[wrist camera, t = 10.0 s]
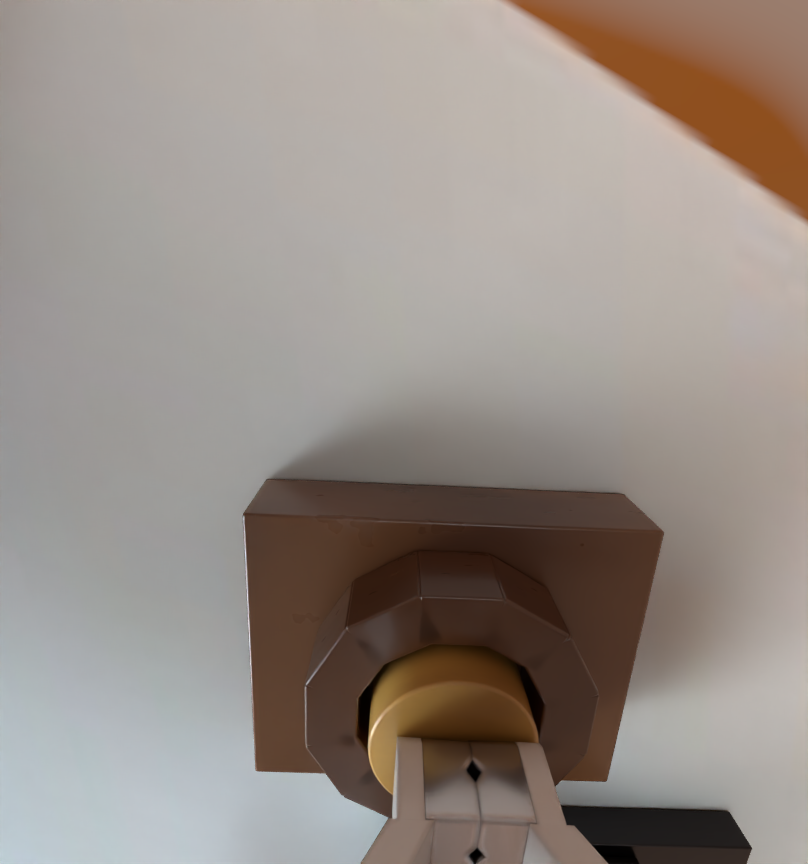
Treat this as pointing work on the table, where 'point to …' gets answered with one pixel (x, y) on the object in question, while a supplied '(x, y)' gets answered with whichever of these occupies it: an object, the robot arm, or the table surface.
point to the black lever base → (661, 835)
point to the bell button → (446, 702)
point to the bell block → (439, 611)
